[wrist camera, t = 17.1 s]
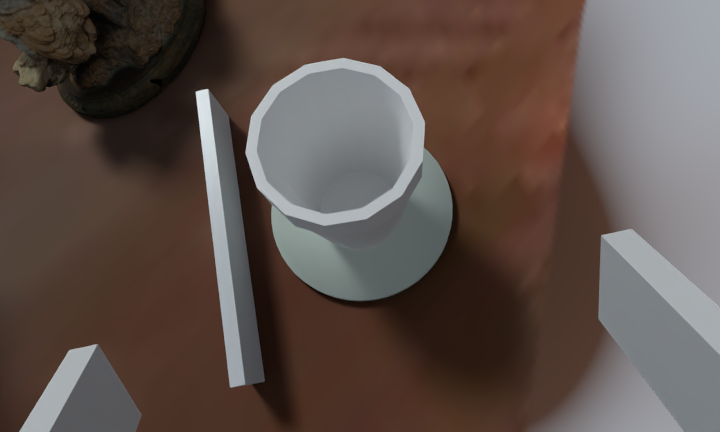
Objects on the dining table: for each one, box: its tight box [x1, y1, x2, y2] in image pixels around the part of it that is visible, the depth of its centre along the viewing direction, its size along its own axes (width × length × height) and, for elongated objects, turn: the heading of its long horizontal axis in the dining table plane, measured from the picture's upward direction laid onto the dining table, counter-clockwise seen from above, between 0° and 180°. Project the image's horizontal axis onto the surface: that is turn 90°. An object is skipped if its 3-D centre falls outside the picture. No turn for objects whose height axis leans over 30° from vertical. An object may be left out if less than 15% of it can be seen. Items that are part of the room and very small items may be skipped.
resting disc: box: [271, 148, 453, 301], centre depth 39 cm, size 14×14×1 cm
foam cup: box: [245, 58, 425, 251], centre depth 32 cm, size 10×9×13 cm
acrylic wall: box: [196, 89, 265, 388], centre depth 37 cm, size 22×1×4 cm, turn 12°
